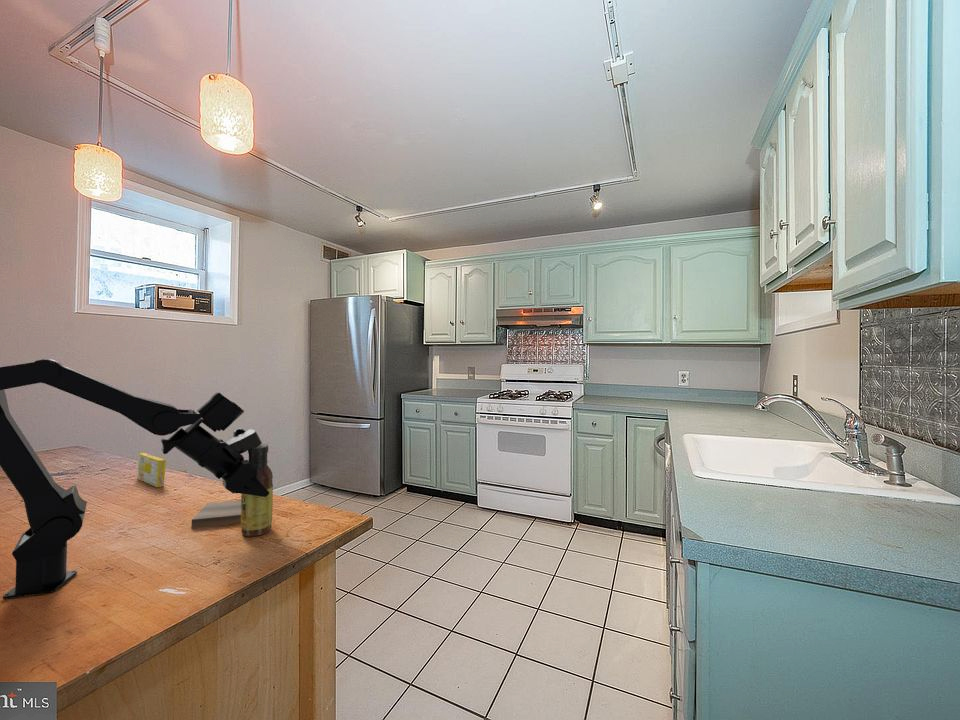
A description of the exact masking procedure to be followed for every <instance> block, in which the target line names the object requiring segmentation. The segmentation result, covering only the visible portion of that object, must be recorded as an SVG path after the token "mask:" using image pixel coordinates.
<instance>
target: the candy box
mask: <svg viewBox="0 0 960 720" xmlns="http://www.w3.org/2000/svg"><path fill="white" fill-rule="evenodd" d="M137 459H138V460H137V474H136V479H137V480H139V481H140V482H141V481H142V482H143V481H144V482H143V483H146V484H147V485H150V486H152V487H154V486H155V488H157V487H159V488H162V487H161V486H163V487H164V486H165V474H166V459H164V458H161V457H158V456H154V455H152V454H149V453H146V452H141V453H138V458H137Z"/></svg>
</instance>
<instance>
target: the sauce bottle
mask: <svg viewBox="0 0 960 720" xmlns="http://www.w3.org/2000/svg"><path fill="white" fill-rule="evenodd" d="M268 453H269V445H268V444H267V443H262V444H260V445H259V446H257V447H253V448H251V449H250V450H248V451H247V454H248V461H249V462H251V463H252V464H253V465H255V466H256V467H257V468H258V472H257V479H258V480H259V481H260V482H261V483H262V484H263V486H264V487H265V488H266V489H267V490H268V492H269V495H268V496H267V497H262V496H255V495H248V494H241V496H240V500H241V523H240V528H241V534H242V535H243V536H244V537H257V536H261V535H265V534H267V533H268V532H269V531H271V528H272V523H273V502H274V501H273V496H274V495H273V493H274V484H273V477H274V476H273V471H272V470H271V468H270V467H269V465H268V462H269V461H268Z"/></svg>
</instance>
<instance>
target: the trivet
mask: <svg viewBox="0 0 960 720" xmlns="http://www.w3.org/2000/svg"><path fill="white" fill-rule="evenodd" d="M237 524H241V499H240V500H237V499H236V500H227V501H216V502H207V503H205V505H204V506H203V507H202V508H201V509H200V510H199V511H198V512H197V513H196V514H195V516H193V518H191V529H197V528H198V529H199V528H207V527H216V526H226V525H237Z"/></svg>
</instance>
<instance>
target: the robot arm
mask: <svg viewBox="0 0 960 720" xmlns="http://www.w3.org/2000/svg"><path fill="white" fill-rule="evenodd" d="M36 384H45V385H48V386H50V387H52V388H56V389H58V390H60V391H63V392H65V393H68V394H71V395H73V396H75V397H78V398H80V399H83V400H86V401H88V402H90V403H93V404H96V405H99V406H100V407H104V408H105V409H108V410H111V411H113V412H116V413H119V414H121V415H122V416H123V417H125V418H127V419H129V420H130V421H131V422H133V423H134V424H136V425H138V426H139V427H141V428H143V429H144V430H146V431H148V432H149V433H151V434H153V435H156V436H163V437H164V436H168V435H171V434H172V435H171V436H170V437H168V438H167V437H166V438H161V439H160V442H161V444H162V445H161V452H162V453H163V454H164V455H167V454H168V453H170V451H172V450H173V449H174V448H175V449H177V451H179V452H181V453H183V454H184V455H185V456H187V457H188V458H190V459H191V460H192V461H194V462H196V464H197V465H198V466H199V467H200V468H204V469H206V470H207V471H209V472H210V473H211V474H213V475H214V476H215V478H216V479H218V480H220V479H221V480H222V485H223V487H224V488H225V490H227V491H228V492H230V493H232V494H235V495H236V494H248V495H255V496H262V497H267V496H268V495H269V492H268V490H267V489H266V488H265V487H264V486H263V484H262V483H261V482H260V481H259V480H258V479H257V472H258V468H257V467H256V466H255V465H253V464H252V463H251V462H249V459H245V456H243V454H244V453H246V452H248V450H250V449H251V448H253V447H257V446H259V445H260V444H263V442H262V440H261V439H260V436H259V434H258V433H257V431H256V430H254V429H253V428H250V429H247V430H245V429H243V428H241V427H238V428H236V429H235V430H233V432H232V433H233V435H232V436H233V437H230V439H229V440H227V441H224V440H223V439H222V438H220V439H219V438H217V437H216V436H214V435H213V434H212V433H210V432H209V431H208V430H207V429H205V428H204V427H202V426H201V425H202V424H203V425H205V426H206V427H207V428H209V429H210V430H211V431H213V432H214V433H216V432H217V431H218V432H220V431H223V432H224V431H226V430H227V429H228V427H230V426H231V425H232V424H233V423H234V422H235V421H236V420H237V419H238V418H239V417H240V416H242V415H243V414H244V413H245V411H244V409H243V408H242V407H240V406H239V405H238V404H237V403H235V402H234V401H232V400H230V399H229V398H228V397H225V396H224V395H223V394H222V393H221V392H218V391H217V392H215V393H214V394H213V395H212V396H211V397H210V398H209V400H208V401H206V402H205V403H204V404H203V405H202V406H200V408H198V409H197V410H196V409H191V408H190V409H185V408H184V409H182V408H177V407H176V406H175V405H173V404H170V403H166V402H163V401H158V400H156V399H151V398H146V397H142V396H138V395H134V394H132V393H129V392H127V391H124V390H122V389H120V388H117V387H115V386H113V385H110V384H108V383H106V382H103V381H101V380H98V379H97V378H94V377H92V376H89V375H87V374H84V373H81V372H80V371H77V370H75V369H73V368H71V367H67V366H65V365H63V364H62V363H61V362H59V361H57V360H56V359H55V360H54V359H51V358H50V359H49V358H48V359H46V358H45V359H38V360H34V361H33V362H26V363H19V364H13V365H7V366H6V365H5V366H0V468H1V469H2V471H3V472H4V473H5V475H6V476H7V478H8V479H9V481H10V483H11V484H12V486H13V487H14V488H15V490H16V491H17V492H18V494H19V495H20V497H21V499H22V500H23V502H24V507H25V513H26V517H27V521H28V524H29V528H28V529H27V530H26V531H25V532H23V533H22V534H21V536H20V537H19V540H18V541H17V544H16V545H15V547H14V549H12V553H11V554H12V557H13V558H14V560H15V587H13V588H11V589H10V590H9V591H8V592H6V593H4V594H3V595H2V596H1V597H2V598H3V599H2V600H6V599H14V598H21V597H22V598H23V597H29V596H36V595H43V594H51V593H54V592H56V591H57V590H58V589H60V588H61V587H62V586H63V585H65V584H66V583H67V582H68V581H69V580H71V579H73V577H75V575H77V574H78V570H77V569H74V570H68V571H67V567H68V566H67V563H68V561H67V559H68V541H70V540H71V539H73V538H74V537H75V536H76V535H77V534H78V533H79V532H80V531H81V529H82V527H83V523H84V519H85V514H86V513H85V512H86V508H87V505H88V501H86V500H84V499H83V498H82V497H81V495H80V494H79V491H78V488H77V486H76V485H72V486H70V487H69V488H67V489H64V488H63V486H60V485H58V483H56V481H55V480H54V478H53V477H52V476H51V474H50V472H49V471H48V469H47V468H46V467H45V466H46V465H44V463H43V462H42V460H41V459H40V457H39V456H38V454H37V453H36V451H35V450H34V448H33V446H32V445H31V443H30V442H29V440H28V439H27V438H26V436H25V434H24V433H23V432H22V430H21V429H20V426H19V425H18V424H17V422H16V421H15V419H14V418H13V417H12V415H11V413H10V409H9V405H8V404H9V403H8V400H7V394H6V391H5V390H9V389H14V388H19V387H25V386H30V385H31V386H32V385H36ZM186 426H188V427H186ZM183 427H186V428H185V429H184V428H183ZM173 433H174V434H173Z"/></svg>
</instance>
